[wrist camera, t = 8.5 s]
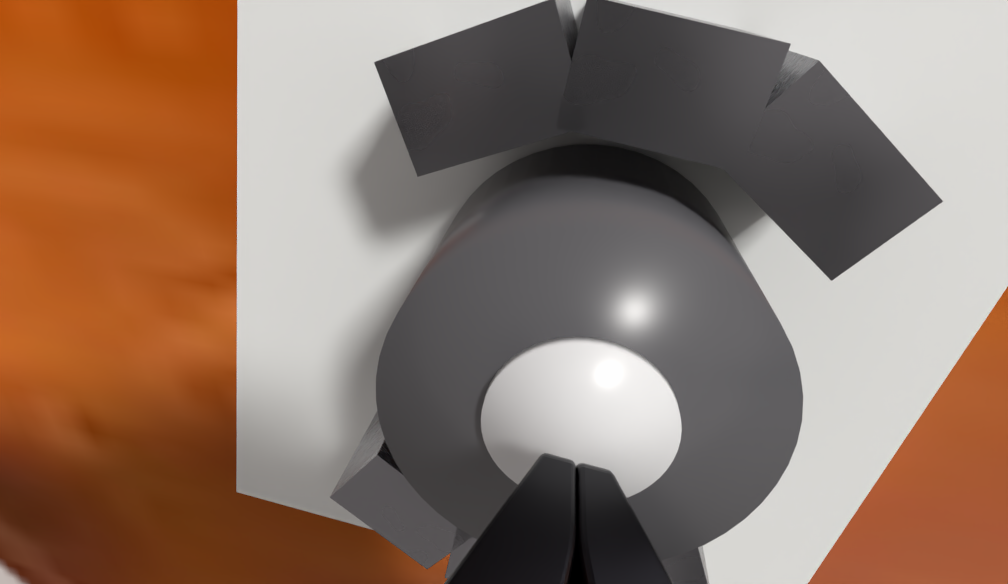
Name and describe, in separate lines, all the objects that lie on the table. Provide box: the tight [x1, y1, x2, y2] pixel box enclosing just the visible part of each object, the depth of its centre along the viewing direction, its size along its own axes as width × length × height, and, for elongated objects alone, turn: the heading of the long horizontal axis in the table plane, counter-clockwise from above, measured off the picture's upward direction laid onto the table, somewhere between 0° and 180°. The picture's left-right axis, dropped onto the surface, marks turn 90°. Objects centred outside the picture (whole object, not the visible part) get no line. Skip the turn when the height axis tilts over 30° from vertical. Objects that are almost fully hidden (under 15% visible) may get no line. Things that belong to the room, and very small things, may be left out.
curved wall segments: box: [330, 0, 943, 584], centre depth 10 cm, size 10×7×3 cm
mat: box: [236, 0, 1008, 584], centre depth 12 cm, size 16×14×1 cm
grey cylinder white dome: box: [376, 144, 803, 561], centre depth 10 cm, size 6×6×4 cm
